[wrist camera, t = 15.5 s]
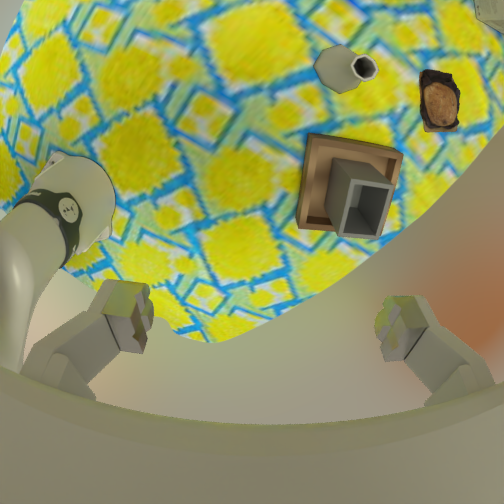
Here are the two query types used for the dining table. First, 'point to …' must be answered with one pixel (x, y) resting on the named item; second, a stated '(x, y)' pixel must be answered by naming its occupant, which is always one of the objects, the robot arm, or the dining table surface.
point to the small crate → (357, 199)
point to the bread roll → (439, 101)
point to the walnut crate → (318, 174)
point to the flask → (344, 68)
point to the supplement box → (491, 13)
